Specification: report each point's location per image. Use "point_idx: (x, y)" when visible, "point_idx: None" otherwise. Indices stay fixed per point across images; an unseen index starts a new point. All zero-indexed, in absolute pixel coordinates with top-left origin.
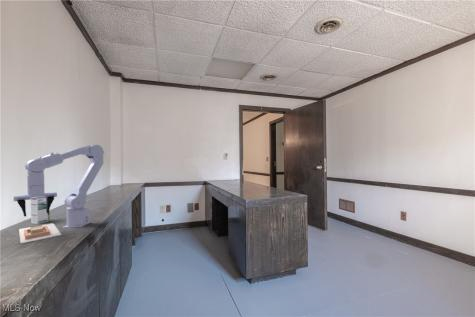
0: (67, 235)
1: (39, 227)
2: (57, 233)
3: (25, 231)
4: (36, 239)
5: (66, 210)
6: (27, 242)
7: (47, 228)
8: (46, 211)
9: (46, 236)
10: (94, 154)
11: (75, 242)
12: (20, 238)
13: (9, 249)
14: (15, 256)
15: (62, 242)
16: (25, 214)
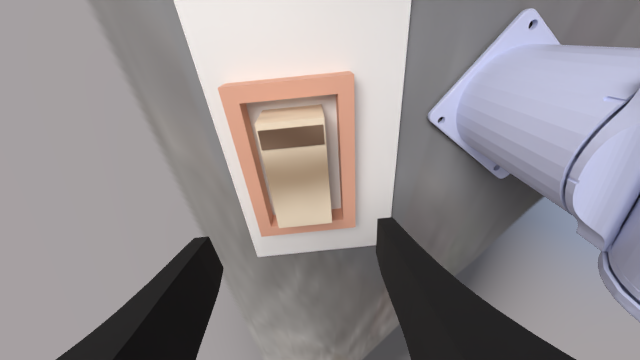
0: None
1: (313, 196)
2: None
3: (240, 145)
4: (305, 249)
5: (564, 153)
6: (278, 252)
7: (351, 165)
8: (380, 232)
9: (338, 234)
10: None
11: None
12: (239, 195)
13: (237, 281)
14: (269, 329)
15: (373, 304)
16: (213, 288)
